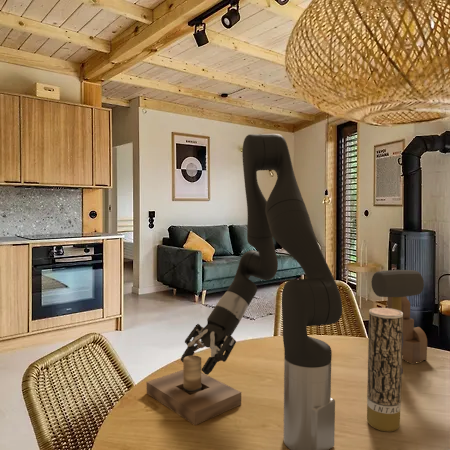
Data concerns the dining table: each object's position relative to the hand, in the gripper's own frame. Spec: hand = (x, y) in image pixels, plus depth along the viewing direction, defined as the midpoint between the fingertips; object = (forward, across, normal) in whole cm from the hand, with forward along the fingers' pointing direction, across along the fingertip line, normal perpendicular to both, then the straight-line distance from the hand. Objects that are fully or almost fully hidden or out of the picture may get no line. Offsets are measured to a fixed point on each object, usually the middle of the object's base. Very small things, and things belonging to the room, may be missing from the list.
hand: (193, 367), depth 102 cm
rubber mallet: (-29, +27, +41) cm, 57 cm away
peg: (+6, 0, +5) cm, 8 cm away
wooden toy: (-42, +20, +54) cm, 71 cm away
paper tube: (-11, +37, +22) cm, 45 cm away
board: (+6, 0, +5) cm, 8 cm away
